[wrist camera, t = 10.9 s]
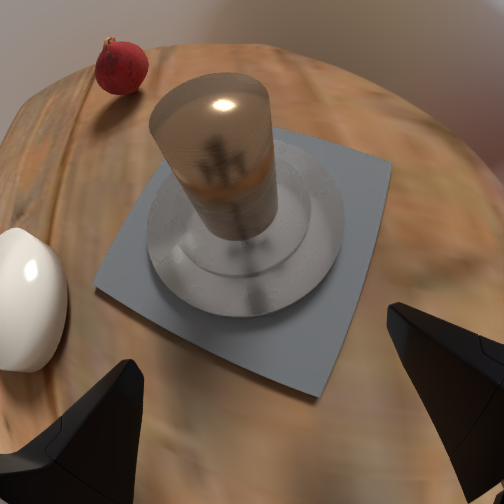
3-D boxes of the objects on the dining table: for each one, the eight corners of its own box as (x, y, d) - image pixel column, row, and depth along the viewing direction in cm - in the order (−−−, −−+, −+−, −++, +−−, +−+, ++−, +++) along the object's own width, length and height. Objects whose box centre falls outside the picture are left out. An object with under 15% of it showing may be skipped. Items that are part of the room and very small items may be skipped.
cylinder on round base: (231, 363, 14) (160, 369, 6) (124, 221, 18) (45, 141, 10) (379, 222, 16) (436, 115, 8) (252, 123, 20) (233, 21, 12)
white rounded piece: (47, 400, 15) (10, 400, 11) (-8, 329, 17) (-37, 320, 14) (95, 276, 18) (59, 257, 14) (31, 231, 21) (4, 213, 17)
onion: (152, 100, 24) (123, 39, 17) (106, 115, 25) (73, 63, 18) (161, 72, 27) (139, 19, 19) (118, 86, 27) (92, 38, 20)
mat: (318, 396, 14) (319, 397, 13) (96, 285, 18) (91, 283, 17) (390, 168, 18) (392, 163, 18) (200, 118, 22) (198, 113, 22)
